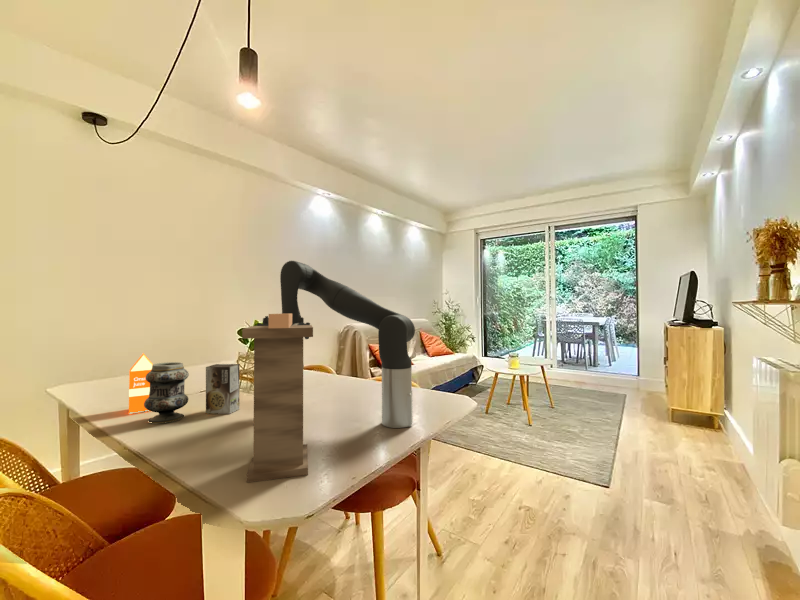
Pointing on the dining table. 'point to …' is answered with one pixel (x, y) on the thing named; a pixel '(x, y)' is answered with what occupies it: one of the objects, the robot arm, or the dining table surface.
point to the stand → (278, 402)
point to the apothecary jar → (166, 391)
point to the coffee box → (222, 388)
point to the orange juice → (139, 384)
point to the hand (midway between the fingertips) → (283, 318)
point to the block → (280, 320)
